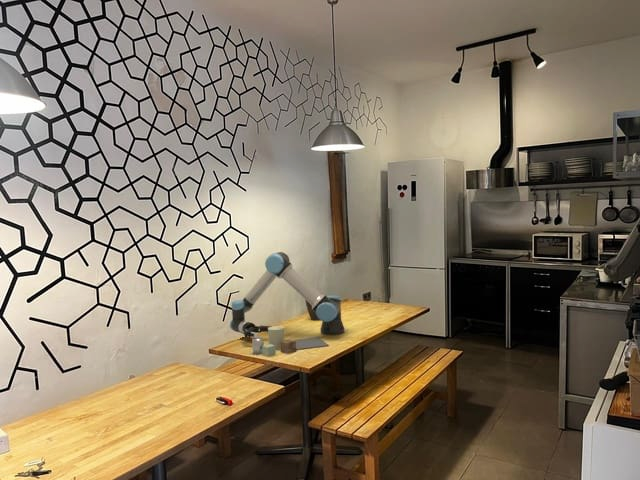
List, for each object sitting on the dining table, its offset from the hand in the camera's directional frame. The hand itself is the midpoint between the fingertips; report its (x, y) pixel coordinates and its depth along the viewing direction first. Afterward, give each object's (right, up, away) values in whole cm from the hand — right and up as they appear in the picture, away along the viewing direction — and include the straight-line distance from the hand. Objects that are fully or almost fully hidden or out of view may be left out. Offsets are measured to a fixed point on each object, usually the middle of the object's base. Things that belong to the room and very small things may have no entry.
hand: (267, 333), depth 272 cm
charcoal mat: (+23, -6, +1) cm, 24 cm away
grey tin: (-3, -8, -14) cm, 16 cm away
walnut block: (+13, -7, -14) cm, 20 cm away
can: (+6, -7, -6) cm, 11 cm away
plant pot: (+28, -3, +65) cm, 70 cm away
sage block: (+3, -8, -18) cm, 20 cm away
